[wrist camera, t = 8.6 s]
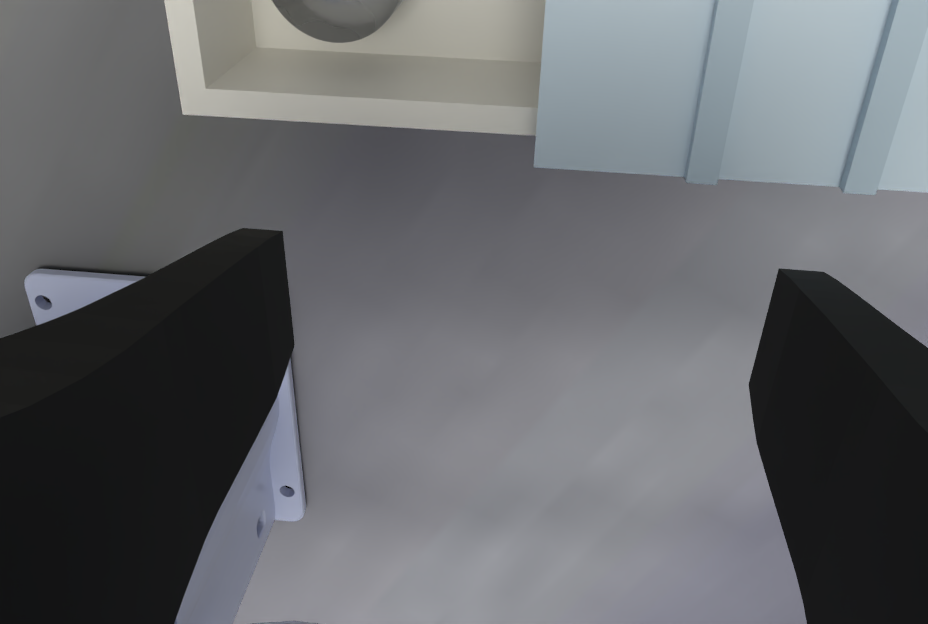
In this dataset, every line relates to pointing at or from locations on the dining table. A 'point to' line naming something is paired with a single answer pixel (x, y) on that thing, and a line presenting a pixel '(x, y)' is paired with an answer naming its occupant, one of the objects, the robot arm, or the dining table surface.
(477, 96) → the tub
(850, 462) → the robot arm
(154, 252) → the dining table surface
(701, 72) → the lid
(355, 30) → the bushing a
